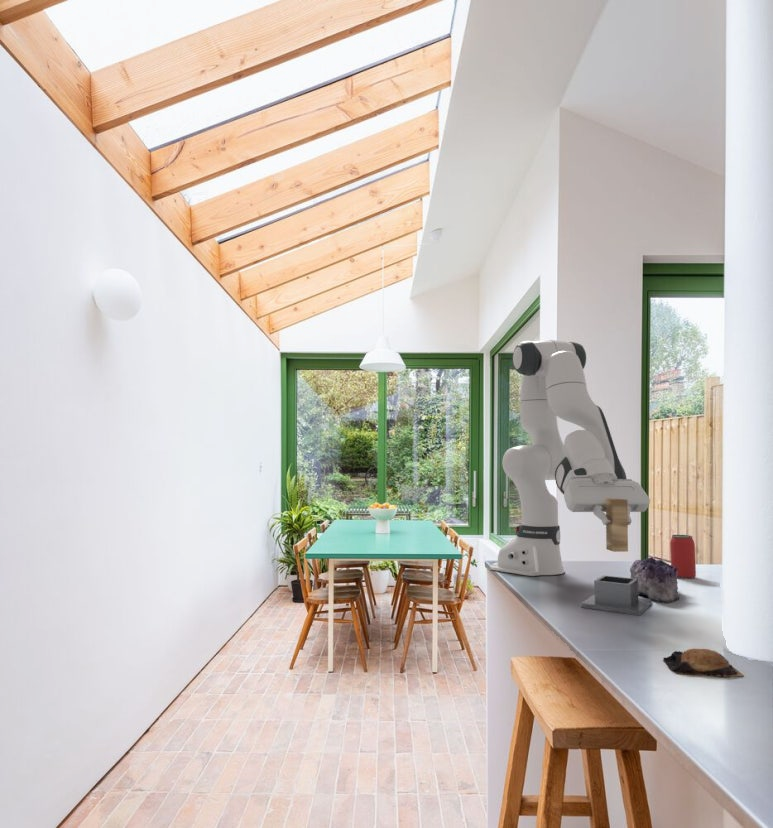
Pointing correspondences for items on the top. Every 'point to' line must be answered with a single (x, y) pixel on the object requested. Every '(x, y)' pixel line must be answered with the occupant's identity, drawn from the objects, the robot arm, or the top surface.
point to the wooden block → (617, 525)
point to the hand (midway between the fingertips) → (617, 523)
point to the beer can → (683, 556)
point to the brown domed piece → (701, 664)
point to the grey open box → (617, 596)
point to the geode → (656, 580)
